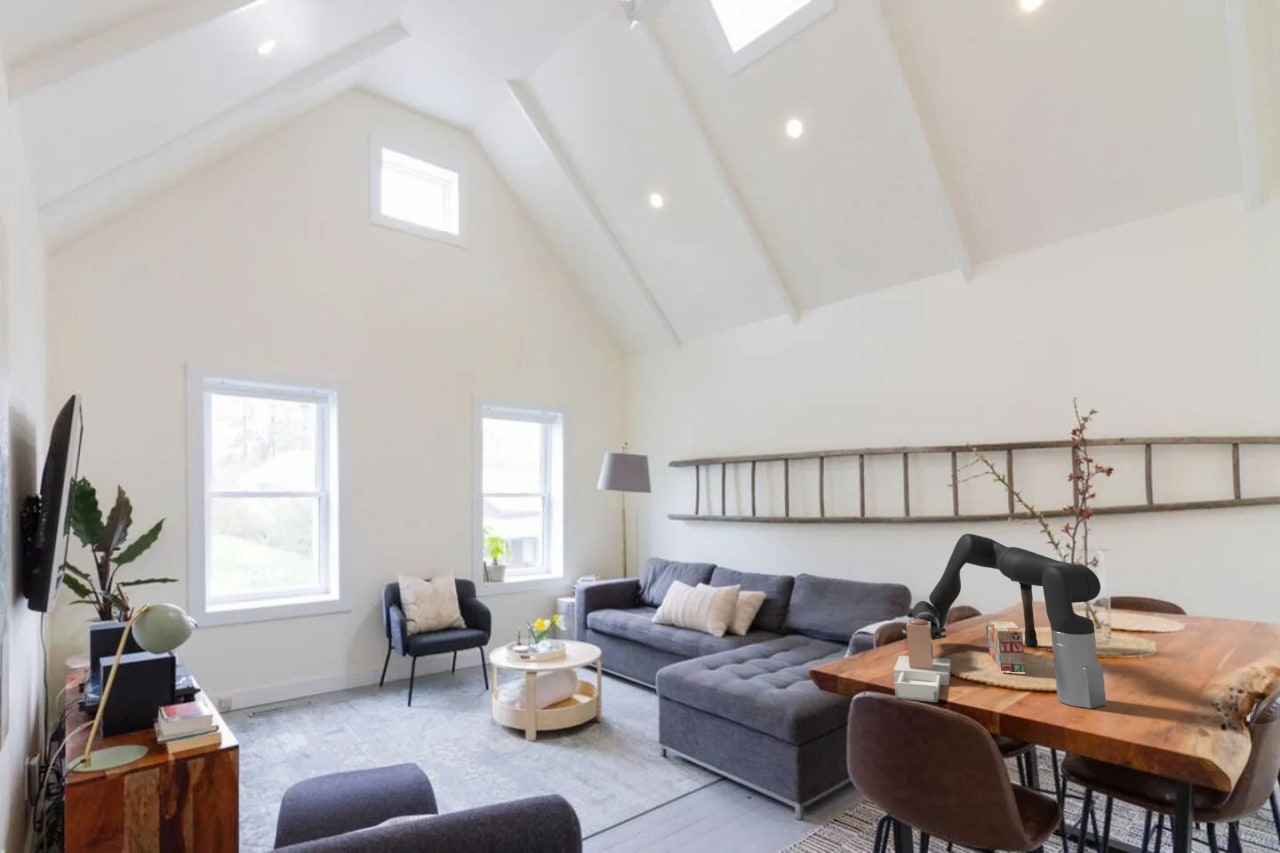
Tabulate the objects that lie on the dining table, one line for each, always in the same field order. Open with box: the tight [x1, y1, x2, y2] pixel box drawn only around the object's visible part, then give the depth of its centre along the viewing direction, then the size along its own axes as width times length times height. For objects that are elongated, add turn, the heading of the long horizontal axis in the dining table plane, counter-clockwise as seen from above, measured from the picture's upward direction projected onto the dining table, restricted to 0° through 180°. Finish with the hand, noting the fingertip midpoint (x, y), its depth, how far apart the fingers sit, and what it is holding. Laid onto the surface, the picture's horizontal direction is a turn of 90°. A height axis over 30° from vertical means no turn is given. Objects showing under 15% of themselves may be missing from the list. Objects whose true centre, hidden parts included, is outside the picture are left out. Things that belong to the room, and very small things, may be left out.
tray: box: [894, 672, 942, 703], centre depth 179 cm, size 15×10×4 cm, turn 153°
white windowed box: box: [893, 655, 952, 686], centre depth 193 cm, size 16×14×3 cm
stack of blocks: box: [985, 621, 1026, 673], centre depth 200 cm, size 21×6×12 cm, turn 161°
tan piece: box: [905, 618, 934, 670], centre depth 192 cm, size 6×6×13 cm
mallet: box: [1010, 551, 1039, 648], centre depth 219 cm, size 8×9×30 cm
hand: (921, 638), depth 197 cm, fingers closed
